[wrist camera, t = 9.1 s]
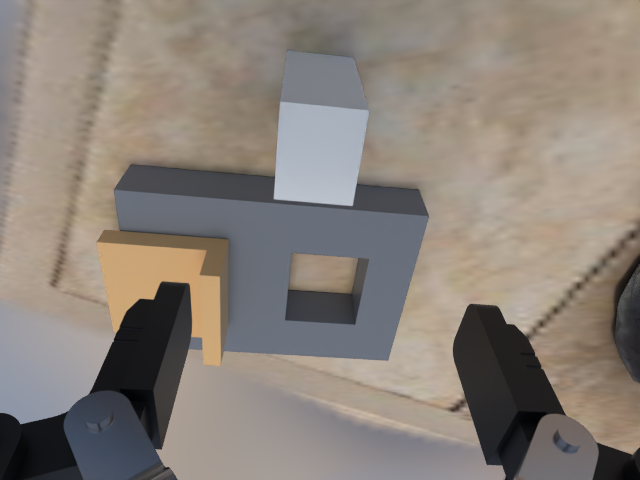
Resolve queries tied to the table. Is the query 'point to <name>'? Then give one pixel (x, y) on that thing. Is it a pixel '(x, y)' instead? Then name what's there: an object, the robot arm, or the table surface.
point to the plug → (320, 129)
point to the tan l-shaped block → (170, 279)
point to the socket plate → (288, 256)
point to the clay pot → (629, 326)
